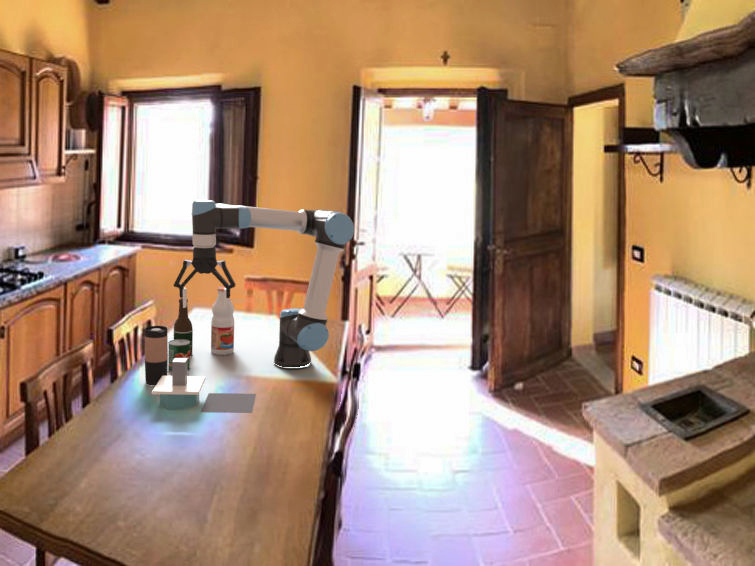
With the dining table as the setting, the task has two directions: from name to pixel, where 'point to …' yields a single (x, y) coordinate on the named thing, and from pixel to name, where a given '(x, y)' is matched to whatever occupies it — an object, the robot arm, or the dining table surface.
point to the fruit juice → (222, 325)
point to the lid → (179, 380)
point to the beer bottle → (183, 325)
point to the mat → (229, 403)
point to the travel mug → (155, 354)
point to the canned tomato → (178, 351)
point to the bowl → (178, 401)
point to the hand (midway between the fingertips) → (205, 307)
